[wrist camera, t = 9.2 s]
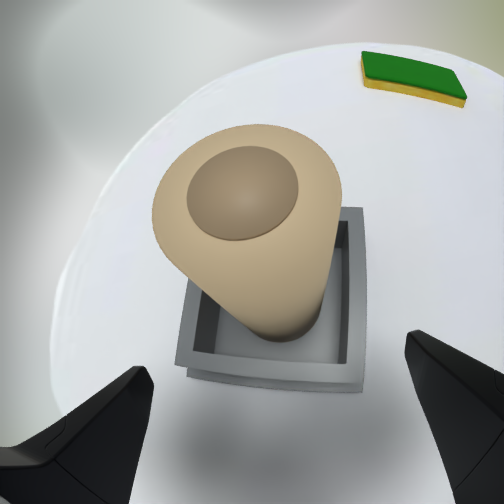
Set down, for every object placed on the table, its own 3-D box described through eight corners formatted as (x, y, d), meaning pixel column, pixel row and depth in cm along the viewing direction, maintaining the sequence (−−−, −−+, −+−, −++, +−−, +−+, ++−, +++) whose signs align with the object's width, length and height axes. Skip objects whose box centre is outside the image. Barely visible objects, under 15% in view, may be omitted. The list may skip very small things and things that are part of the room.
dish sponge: (463, 111, 26) (468, 97, 24) (364, 90, 29) (365, 74, 27) (449, 82, 29) (453, 69, 27) (360, 63, 32) (361, 49, 30)
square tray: (359, 391, 17) (376, 396, 13) (191, 376, 20) (160, 375, 15) (362, 233, 22) (373, 197, 17) (214, 229, 24) (194, 195, 20)
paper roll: (302, 355, 18) (299, 319, 6) (227, 323, 20) (118, 242, 8) (332, 279, 20) (361, 141, 8) (260, 254, 22) (206, 112, 10)
